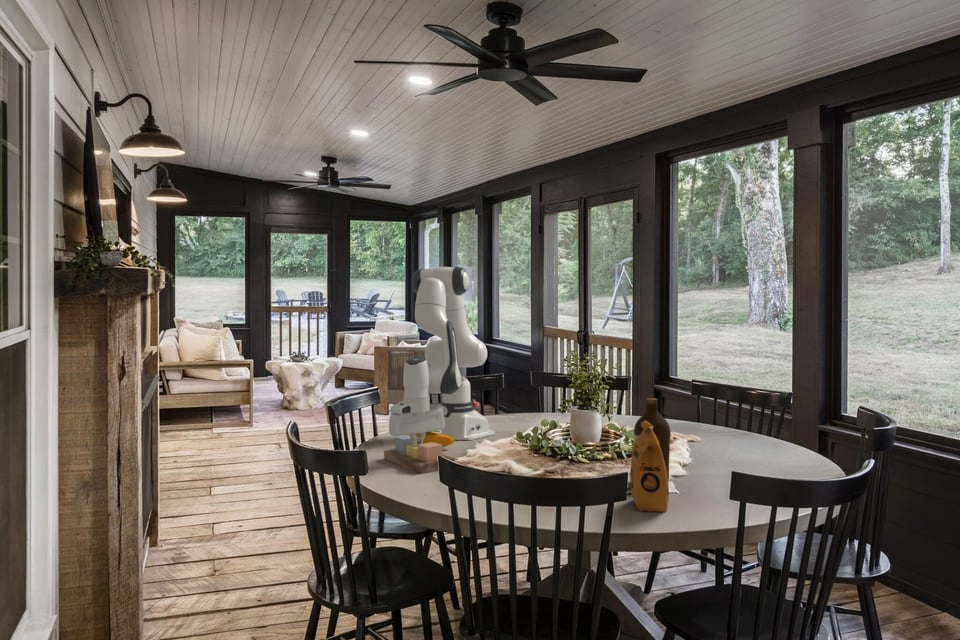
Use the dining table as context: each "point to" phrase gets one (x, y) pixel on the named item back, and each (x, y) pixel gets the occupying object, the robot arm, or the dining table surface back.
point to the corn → (437, 438)
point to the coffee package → (649, 473)
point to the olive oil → (656, 428)
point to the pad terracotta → (429, 451)
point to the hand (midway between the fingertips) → (417, 445)
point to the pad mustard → (412, 451)
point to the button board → (412, 461)
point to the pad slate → (403, 443)
